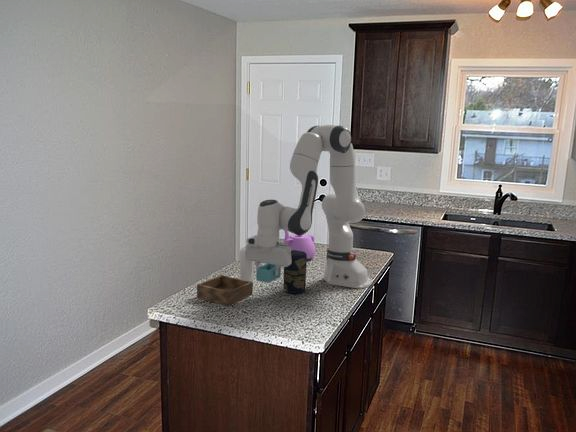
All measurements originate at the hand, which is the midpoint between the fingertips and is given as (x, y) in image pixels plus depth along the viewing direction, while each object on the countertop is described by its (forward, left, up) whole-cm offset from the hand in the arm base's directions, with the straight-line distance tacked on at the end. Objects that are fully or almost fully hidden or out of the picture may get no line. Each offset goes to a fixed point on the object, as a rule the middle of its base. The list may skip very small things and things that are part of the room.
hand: (268, 273), depth 202 cm
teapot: (+20, -62, -10) cm, 66 cm away
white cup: (+18, -12, -10) cm, 24 cm away
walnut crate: (+14, +9, -10) cm, 20 cm away
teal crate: (0, 0, -2) cm, 2 cm away
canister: (-6, -13, -10) cm, 17 cm away
